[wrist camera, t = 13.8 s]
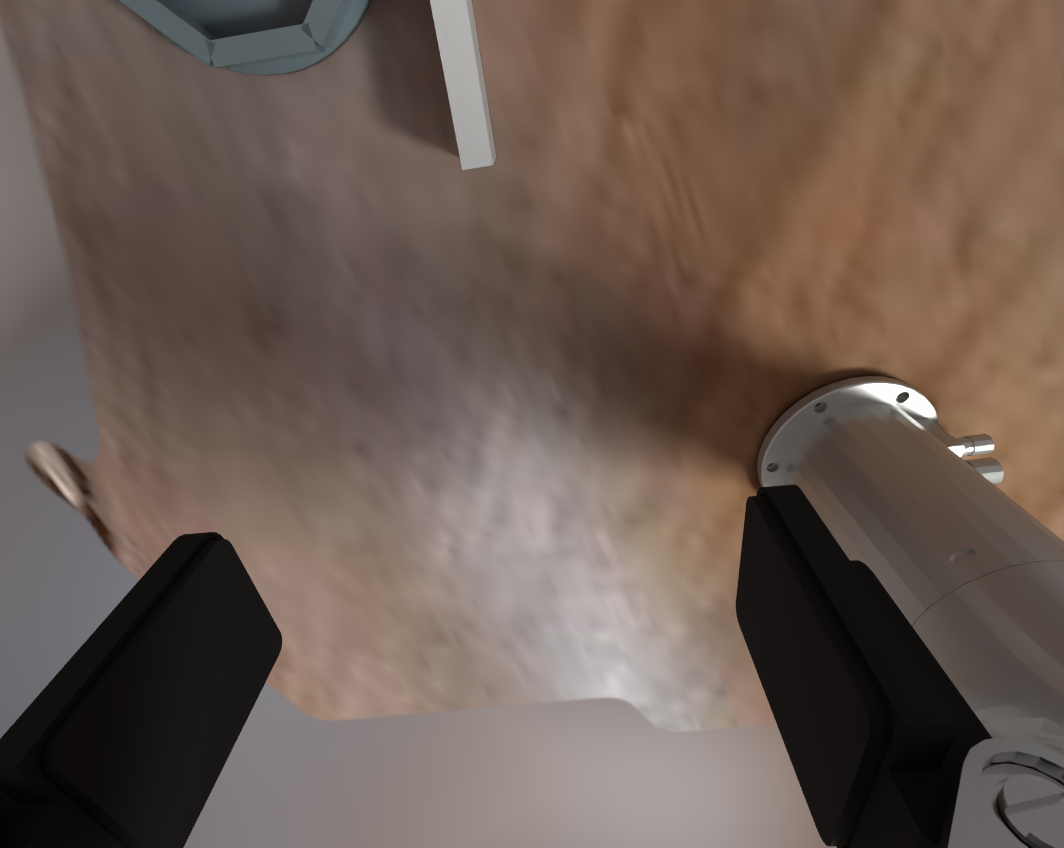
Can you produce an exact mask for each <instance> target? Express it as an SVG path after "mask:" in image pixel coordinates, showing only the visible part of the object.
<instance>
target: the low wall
mask: <svg viewBox="0 0 1064 848" xmlns="http://www.w3.org/2000/svg"><path fill="white" fill-rule="evenodd" d="M430 3H431V8H432V14H433V19H434V24H435V29H436V35H437V40H438V45H439V50H440V56H441V61H442V66H443V71H444V77H445V82H446V87H447V92H448V98H449V103H450V108H451V113H452V119H453V124H454V129H455V134H456V140H457V145H458V150H459V155H460V161H461V166H462V170H466V169H472V168H479V167H485V166H491V165H493V164H494V161H495V159H496V153H495V147H494V140H493V134H492V128H491V121H490V115H489V109H488V102H487V96H486V90H485V83H484V77H483V71H482V64H481V58H480V52H479V45H478V39H477V33H476V26H475V20H474V14H473V7H472V1H471V0H430Z"/></svg>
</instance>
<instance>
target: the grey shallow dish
mask: <svg viewBox="0 0 1064 848" xmlns="http://www.w3.org/2000/svg"><path fill="white" fill-rule="evenodd" d="M119 1H120V2H121V3H123V4H124V5H125V6H127V7H128V8H130V9H131V10H132V11H134V12H135V13H136V14H138V15H139V16H141V17H142V18H143V19H145V20H146V21H147V22H148V23H149V24H150V25H151V26H152V27H153V28H155V29H156V30H157V31H158V32H160V33H161V34H162V35H163V36H165V37H166V38H167V39H168V40H170V41H171V42H173V43H174V44H176V45H177V46H179V47H180V48H182V49H183V50H185V51H187V52H188V53H190V54H192V55H194V56H195V57H197V58H198V59H200V60H201V61H202V62H204V63H205V64H206V65H208V66H214V67H215V68H223V69H228V70H233V71H237V72H242V73H247V74H260V75H279V74H289V73H293V72H297V71H300V70H304V69H307V68H309V67H311V66H313V65H315V64H318V63H320V62H321V61H323V60H324V59H326V58H327V57H329V56H330V55H332V54H333V53H335V52H336V51H337V50H338V49H339V48H340V47H341V46H342V45H343V44H344V43H345V42H346V41H347V40H348V39H349V38H350V36H351V35H352V34H353V32H354V31H355V30H356V28H357V27H358V26H359V24H360V22H361V21H362V19H363V17H364V15H365V13H366V12H367V10H368V8H369V5H370V3H371V0H119Z"/></svg>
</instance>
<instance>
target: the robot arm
mask: <svg viewBox="0 0 1064 848" xmlns="http://www.w3.org/2000/svg"><path fill="white" fill-rule="evenodd" d="M993 449H994V442H993V439H992V438H991V437H990V436H989V435H987V434H979V435H971V436H965V437H962V438H954V437H953V436H951V435H949V434H948V433H947V432H945V431H944V430H943V429H942V428H940V427H939V418H938V415H937V413H936V411H935V408H934V406H933V405H932V404H931V402H930V401H929V400H928V399H927V398H926V396H924V395H923V394H922V393H920V392H919V391H918V390H916V389H915V388H914V387H912V386H910V385H908V384H906V383H904V382H902V381H900V380H897V379H892V378H888V377H881V376H863V377H856V378H849V379H845V380H842V381H838V382H835V383H831V384H829V385H827V386H825V387H822V388H820V389H818V390H816V391H814V392H812V393H810V394H809V395H807V396H805V397H804V398H802V399H801V400H799V401H798V402H796V403H795V404H794V405H793V406H792V407H790V408H789V409H788V410H787V411H786V412H784V413H783V415H782V416H781V417H780V418H779V419H778V420H777V421H776V422H775V424H774V425H773V426H772V428H771V429H770V431H769V432H768V434H767V435H766V437H765V439H764V441H763V444H762V446H761V449H760V451H759V456H758V462H757V472H758V479H759V482H760V484H761V488H759V490H758V492H757V496H751V497H748V499H747V503H746V512H745V521H744V531H743V540H742V550H741V559H740V568H739V578H738V587H737V597H736V613H737V618H738V622H739V625H740V628H741V631H742V634H743V636H744V639H745V641H746V644H747V647H748V649H749V652H750V655H751V657H752V660H753V662H754V665H755V668H756V670H757V673H758V676H759V678H760V681H761V683H762V686H763V689H764V691H765V694H766V697H767V699H768V702H769V704H770V707H771V710H772V712H773V715H774V718H775V720H776V723H777V725H778V728H779V731H780V733H781V736H782V739H783V741H784V744H785V746H786V749H787V752H788V754H789V757H790V760H791V762H792V765H793V767H794V770H795V773H796V775H797V778H798V781H799V783H800V786H801V788H802V791H803V794H804V796H805V799H806V801H807V804H808V807H809V809H810V812H811V815H812V817H813V820H814V823H815V825H816V828H817V830H818V832H819V835H820V837H821V838H822V840H823V842H824V843H825V844H826V845H827V846H837V848H1064V541H1062V540H1061V539H1060V538H1059V537H1058V536H1056V535H1055V534H1054V533H1053V532H1051V531H1050V530H1049V529H1048V528H1046V527H1045V526H1044V525H1043V524H1042V523H1040V522H1039V521H1038V520H1037V519H1035V518H1034V517H1033V516H1032V515H1031V514H1029V513H1028V512H1027V511H1026V510H1024V509H1023V508H1022V507H1021V506H1020V505H1018V504H1017V503H1016V502H1015V501H1013V500H1012V499H1011V498H1010V497H1008V496H1007V495H1006V494H1005V493H1004V492H1002V491H1001V490H1000V489H999V488H997V487H996V486H995V485H994V484H997V483H1000V482H1001V481H1002V479H1003V472H1004V471H1003V469H1002V466H1001V464H1000V463H999V462H998V461H997V460H996V459H994V458H992V457H990V458H981V459H973V460H963V459H962V458H961V456H963V455H968V456H971V455H979V454H987V453H991V452H992V451H993ZM281 647H282V636H281V633H280V631H279V629H278V627H277V625H276V623H275V622H274V620H273V618H272V616H271V614H270V613H269V611H268V609H267V607H266V605H265V604H264V602H263V600H262V598H261V596H260V595H259V593H258V591H257V589H256V587H255V585H254V584H253V582H252V580H251V578H250V576H249V575H248V573H247V571H246V569H245V567H244V566H243V564H242V562H241V560H240V558H239V557H238V555H237V553H236V551H235V549H234V547H233V546H232V544H231V543H230V542H229V541H228V540H226V539H224V538H223V537H222V536H221V535H220V534H218V533H216V532H208V533H196V534H184V535H182V536H179V537H178V538H177V539H176V540H174V541H173V543H172V544H171V545H170V546H169V547H168V548H167V549H166V551H165V552H164V553H163V554H162V555H161V556H160V557H159V559H158V560H157V561H156V562H155V563H154V564H153V565H152V567H151V568H150V569H149V570H148V571H147V572H146V573H145V575H144V576H143V577H142V578H141V579H140V580H139V581H138V582H137V584H136V585H135V586H134V587H133V588H132V589H131V591H130V592H129V593H128V594H127V595H126V596H125V597H124V598H123V600H122V601H121V602H120V603H119V604H118V605H117V607H116V608H115V609H114V610H113V611H112V612H111V613H110V614H109V616H108V617H107V618H106V619H105V620H104V621H103V622H102V624H101V625H100V626H99V627H98V628H97V629H96V631H95V632H94V633H93V634H92V635H91V636H90V637H89V638H88V640H87V641H86V642H85V643H84V644H83V645H82V646H81V647H80V649H79V650H78V651H77V652H76V653H75V654H74V656H73V657H72V658H71V659H70V660H69V661H68V662H67V663H66V665H65V666H64V667H63V668H62V669H61V670H60V671H59V673H58V674H57V675H56V676H55V677H54V678H53V679H52V681H51V682H50V683H49V684H48V685H47V686H46V687H45V689H44V690H43V691H42V692H41V693H40V694H39V696H38V697H37V698H36V699H35V700H34V701H33V702H32V703H31V705H30V706H29V707H28V708H27V709H26V710H25V712H24V713H23V714H22V715H21V716H20V717H19V718H18V719H17V720H16V722H15V723H14V724H13V725H12V726H11V727H10V728H9V730H8V731H7V732H6V733H5V734H4V735H3V736H2V738H1V739H0V848H183V847H184V845H185V843H186V841H187V839H188V837H189V835H190V833H191V831H192V829H193V827H194V825H195V823H196V821H197V819H198V817H199V815H200V813H201V811H202V809H203V807H204V805H205V803H206V801H207V799H208V797H209V795H210V793H211V791H212V789H213V787H214V785H215V783H216V781H217V779H218V777H219V775H220V773H221V771H222V769H223V767H224V765H225V762H226V761H227V758H228V756H229V754H230V752H231V750H232V748H233V746H234V744H235V742H236V740H237V738H238V736H239V734H240V732H241V730H242V728H243V726H244V724H245V722H246V720H247V718H248V716H249V714H250V712H251V710H252V708H253V706H254V704H255V702H256V700H257V698H258V696H259V694H260V692H261V690H262V688H263V686H264V684H265V682H266V680H267V678H268V676H269V674H270V672H271V670H272V668H273V666H274V664H275V662H276V660H277V658H278V656H279V653H280V651H281Z"/></svg>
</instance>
